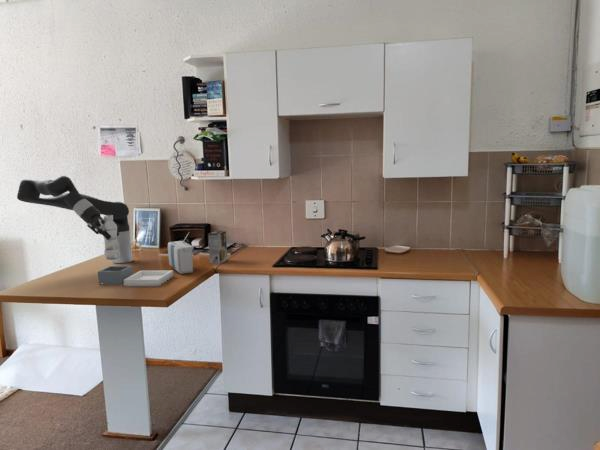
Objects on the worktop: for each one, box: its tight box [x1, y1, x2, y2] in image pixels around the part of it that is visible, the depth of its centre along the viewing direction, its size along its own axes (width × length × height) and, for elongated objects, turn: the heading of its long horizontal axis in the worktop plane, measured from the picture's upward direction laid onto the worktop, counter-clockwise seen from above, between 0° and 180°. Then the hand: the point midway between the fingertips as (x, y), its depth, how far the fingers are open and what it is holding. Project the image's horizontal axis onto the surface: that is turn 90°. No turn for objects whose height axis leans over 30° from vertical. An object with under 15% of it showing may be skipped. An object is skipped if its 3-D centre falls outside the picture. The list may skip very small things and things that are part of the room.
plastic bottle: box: [103, 215, 120, 261], centre depth 194 cm, size 6×7×20 cm
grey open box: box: [97, 265, 134, 285], centre depth 197 cm, size 11×10×6 cm
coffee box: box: [207, 230, 228, 265], centre depth 230 cm, size 9×6×16 cm
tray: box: [123, 269, 174, 287], centre depth 195 cm, size 16×16×3 cm
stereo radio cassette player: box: [167, 231, 194, 275], centre depth 214 cm, size 21×8×20 cm, turn 29°
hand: (113, 236), depth 194 cm, fingers closed on plastic bottle, 6 cm apart
